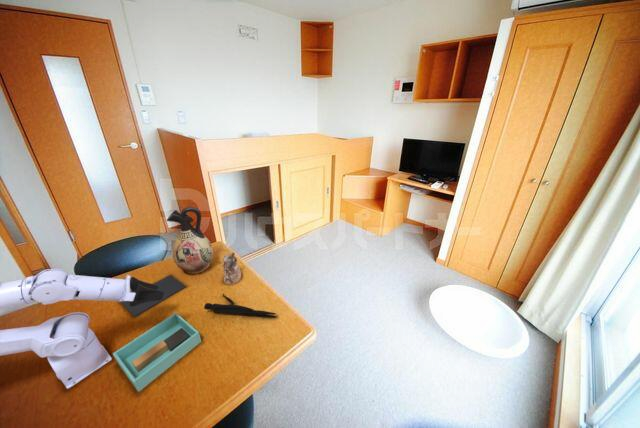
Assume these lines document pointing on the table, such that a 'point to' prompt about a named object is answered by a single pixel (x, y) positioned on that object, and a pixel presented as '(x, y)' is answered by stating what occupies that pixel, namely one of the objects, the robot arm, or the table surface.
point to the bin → (150, 340)
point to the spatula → (160, 349)
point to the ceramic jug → (191, 243)
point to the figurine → (231, 269)
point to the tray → (168, 287)
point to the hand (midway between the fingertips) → (159, 292)
